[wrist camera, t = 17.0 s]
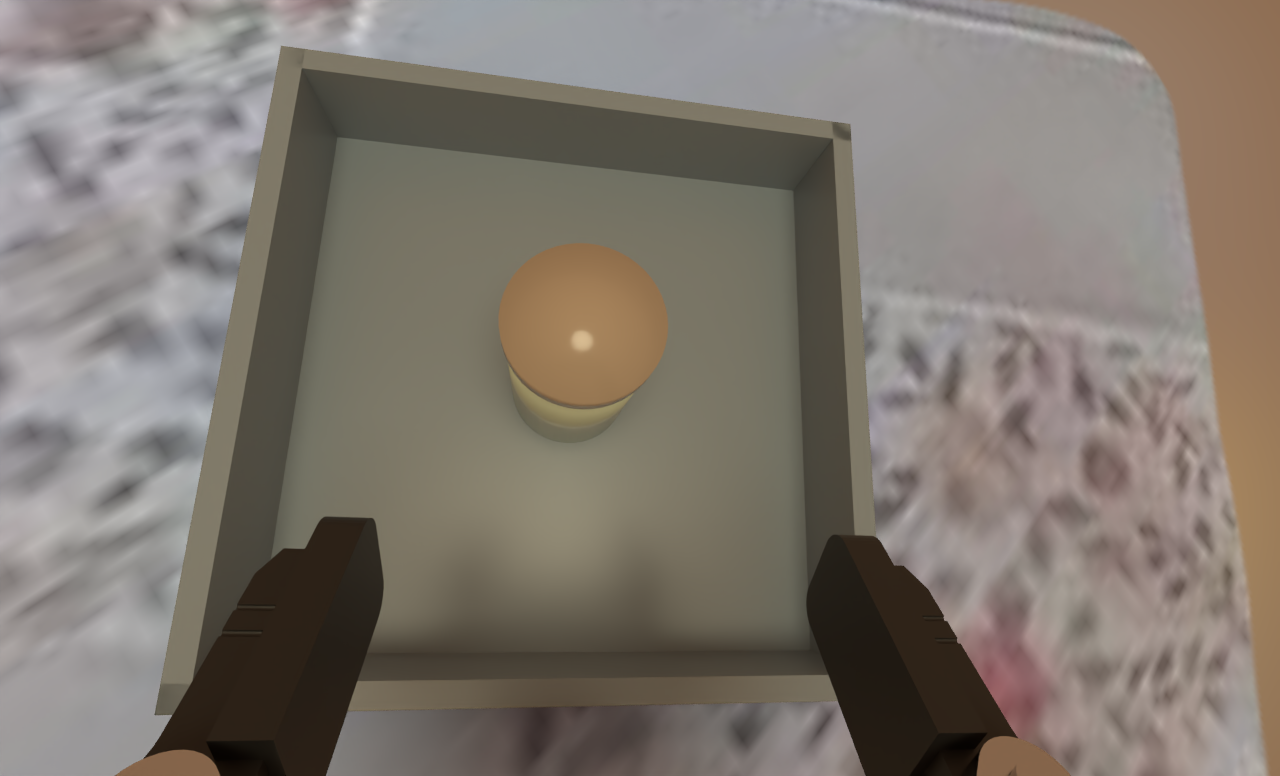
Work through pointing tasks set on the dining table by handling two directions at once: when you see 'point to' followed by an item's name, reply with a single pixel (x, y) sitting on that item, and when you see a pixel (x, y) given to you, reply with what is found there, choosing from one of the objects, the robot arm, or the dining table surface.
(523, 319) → the lidded yellow jar
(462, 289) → the bin
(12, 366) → the dining table surface
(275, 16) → the dining table surface
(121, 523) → the dining table surface
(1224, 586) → the dining table surface
